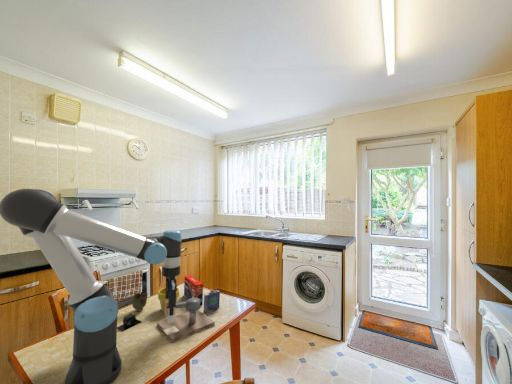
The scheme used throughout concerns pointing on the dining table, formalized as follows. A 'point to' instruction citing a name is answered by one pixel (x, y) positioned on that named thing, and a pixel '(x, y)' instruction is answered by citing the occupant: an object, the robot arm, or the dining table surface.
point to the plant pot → (162, 297)
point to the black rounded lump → (128, 322)
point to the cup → (139, 301)
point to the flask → (211, 300)
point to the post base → (185, 325)
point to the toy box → (193, 288)
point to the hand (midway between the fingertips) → (169, 319)
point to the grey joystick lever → (185, 305)
